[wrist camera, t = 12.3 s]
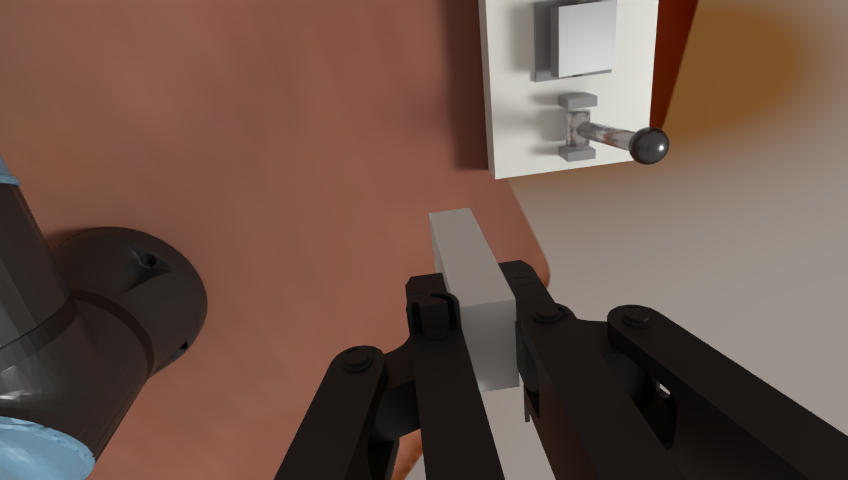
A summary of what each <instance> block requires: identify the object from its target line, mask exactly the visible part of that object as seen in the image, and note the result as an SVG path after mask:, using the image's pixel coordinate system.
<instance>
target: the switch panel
mask: <svg viewBox="0 0 848 480" xmlns="http://www.w3.org/2000/svg"><path fill="white" fill-rule="evenodd" d="M573 1H574V0H478V5H479V21H480V38H481V54H482V71H483V87H484V103H485V120H486V136H487V153H488V169H489V171H490V173H491V174H492V175H493V177H494V178H495V179H500V178H507V177H514V176H522V175H529V174H536V173H543V172H551V171H558V170H565V169H573V168H580V167H587V166H595V165H602V164H610V163H617V162H624V161H631V160H634V159H633V158H632V157H631V155H630V153H629V151H627V150H623V149H620V148H616V147H613V146H609V145H606V144H602V143H598V142H595V141H591V140H590V145H588V146H584V147H569V146H566V111H568V110H572V109H590V110H591V122H594V123H598V124H602V125H607V126H611V127H615V128H620V129H624V130H628V131H633V132H637V131H638V130H640V129H642V128H645V127H649V118H650V105H651V91H652V78H653V65H654V51H655V38H656V25H657V12H658V0H617V16H616V39H615V62H614V69H608V70H602V71H596V72H590V73H585V76H580V77H572V75H571V76H565V77H551V25H550V8H553V7H561V6H569V5H573ZM601 1H609V0H586V3H593V2H601Z"/></svg>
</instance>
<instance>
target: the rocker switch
mask: <svg viewBox="0 0 848 480" xmlns="http://www.w3.org/2000/svg"><path fill="white" fill-rule="evenodd" d="M616 16H617V0H609V1H601V2H593V3H586V0H574V1H573V5H569V6H561V7H553V8H550V25H551V77H565V76H571V75H572V77H580V76H585V73H590V72H596V71H602V70H608V69H614V62H615V39H616Z"/></svg>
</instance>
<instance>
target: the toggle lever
mask: <svg viewBox="0 0 848 480" xmlns="http://www.w3.org/2000/svg"><path fill="white" fill-rule="evenodd" d="M590 140H591V141H595V142H598V143H602V144H606V145H609V146H613V147H616V148H620V149H623V150H627V151H629V153H630V155H631V157H632V158H633V159H634V160H635V161H636V162H638V163H640V164H645V165H650V164H654V163H657V162H659V161H660V160H662V159H663V158H664V157H665V156H666V154H667V152H668V150H669V139H668V137H667V135H666V134H665V132H664V131H662V130H661V129H659V128H656V127H645V128H642V129H640V130H638V131H637V132H633V131H628V130H624V129H620V128H615V127H611V126H607V125H602V124H598V123H594V122H591V110H590V109H572V110H568V111H566V146H569V147H584V146H588V145H590Z"/></svg>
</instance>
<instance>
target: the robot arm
mask: <svg viewBox="0 0 848 480" xmlns="http://www.w3.org/2000/svg"><path fill="white" fill-rule="evenodd" d="M20 185H21V183H20V181H19V179H17V178H16V177H14V176H12V174H11V173H10V171H9V169H8V167H7V166H6V164H5V162H4V160H3V159H2V157H1V155H0V480H84V479H85V478H86V477H87V476H88V475H89V474H90V473H91V471H92V469H93V467H94V465H95V463H96V462H97V460H98V458H99V457H100V455H101V454H102V452H103V450H104V449H105V447H106V445H107V444H108V442H109V441H110V439H111V437H112V436H113V434H114V433H115V431H116V429H117V428H118V426H119V424H120V423H121V421H122V420H123V418H124V416H125V415H126V413H127V411H128V410H129V408H130V407H131V405H132V403H133V402H134V400H135V399H136V397H137V395H138V394H139V392H140V390H141V389H142V387H143V386H144V384H145V383H146V381H147V380H148V379H149V378H150V377H152V376H153V375H155V374H156V373H158V372H159V371H160V370H162V369H163V368H165V367H166V366H168V365H169V364H171V363H172V362H174V361H175V360H177V359H178V358H179V357H180V356H182V355H183V354H184V353H185V352H186V351H187V350H188V349H189V347H190V346H191V345H192V344H193V342H194V340H195V339H196V337H197V335H198V334H199V332H200V330H201V329H202V326H203V324H204V322H205V318H206V314H207V296H206V292H205V288H204V285H203V283H202V281H201V278H200V277H199V275H198V273H197V272H196V270H195V269H194V267H193V266H192V265H191V263H190V262H189V261H188V260H187V259H186V258H185V257H184V256H183V255H182V254H181V253H180V252H178V251H177V250H176V249H175V248H173V247H172V246H170V245H169V244H167V243H165V242H164V241H162V240H160V239H158V238H156V237H154V236H151V235H149V234H146V233H143V232H140V231H136V230H131V229H126V228H113V227H110V228H98V229H92V230H88V231H85V232H82V233H79V234H77V235H75V236H73V237H71V238H69V239H68V240H66V241H65V242H63V243H62V244H61V245H59V246H58V247H56V248H55V249H54V250H52V251H50V249H49V247H48V245H47V243H46V241H45V239H44V237H43V235H42V233H41V230H40V228H39V226H38V224H37V222H36V220H35V218H34V216H33V214H32V212H31V210H30V208H29V206H28V204H27V202H26V200H25V198H24V196H23V194H22V192H21V190H20V188H19V186H20ZM429 218H430V227H431V235H432V244H433V252H434V261H435V269H436V273H435V274H428V275H421V276H414V277H411V278H410V279H409V281H408V282H407V284H406V286H405V287H406V296H407V306H406V312H407V319H408V326H409V332H410V336H409V338H408V340H407V341H406V342H405V343H404V344H403V345H402V346H400V347H399V348H398V349H395V350H393V351H391V352H389V353H386V354H383V353H382V351H381V350H380V349H378V348H376V347H373V346H365V345H364V346H356V347H352V348H349V349H347V350H344V351H343V352H341V353H340V354H338V355H337V356H336V357H335V358H334V359H333V361H332V362H331V364H330V366H329V368H328V370H327V372H326V374H325V376H324V378H323V380H322V382H321V384H320V386H319V388H318V390H317V392H316V394H315V396H314V398H313V400H312V403H311V405H310V407H309V409H308V411H307V413H306V415H305V417H304V419H303V421H302V423H301V425H300V427H299V429H298V431H297V433H296V435H295V437H294V439H293V441H292V443H291V445H290V447H289V449H288V451H287V453H286V455H285V458H284V460H283V462H282V464H281V466H280V468H279V470H278V472H277V474H276V476H275V478H274V480H391V478H392V474H393V470H394V466H395V461H396V457H397V453H398V449H399V437H402V436H404V435H406V434H409V433H411V432H413V431H415V430H418V429H421V438H422V447H423V456H424V465H425V473H426V480H505V478H504V474H503V471H502V468H501V464H500V460H499V457H498V453H497V450H496V447H495V443H494V440H493V436H492V432H491V429H490V426H489V422H488V419H487V415H486V412H485V408H484V404H483V401H482V397H481V394H480V392H485V391H492V390H499V389H505V388H512V387H518V386H519V373H520V375H521V378H522V380H523V383H524V407H525V422H529V421H530V419H529V418H530V417H529V415H531V417H532V420H533V423H534V425H535V427H536V430H537V433H538V435H539V438H540V440H541V443H542V446H543V448H544V450H545V453H546V456H547V458H548V461H549V463H550V466H551V469H552V471H553V474H554V476H555V479H556V480H848V436H847V435H845V434H844V433H842V432H840V431H839V430H837V429H836V428H834V427H833V426H831V425H830V424H828V423H827V422H825V421H824V420H822V419H821V418H819V417H818V416H816V415H815V414H813V413H812V412H810V411H808V410H807V409H806V408H804V407H802V406H801V405H799V404H798V403H796V402H795V401H793V400H792V399H790V398H789V397H787V396H786V395H784V394H782V393H781V392H780V391H778V390H777V389H775V388H773V387H772V386H770V385H769V384H767V383H766V382H764V381H763V380H761V379H760V378H758V377H757V376H755V375H754V374H752V373H751V372H749V371H748V370H746V369H744V368H743V367H741V366H740V365H738V364H737V363H735V362H734V361H732V360H731V359H729V358H728V357H726V356H725V355H723V354H722V353H720V352H719V351H717V350H716V349H714V348H712V347H711V346H709V345H708V344H706V343H705V342H703V341H702V340H700V339H699V338H697V337H696V336H694V335H693V334H691V333H690V332H688V331H687V330H685V329H684V328H682V327H681V326H679V325H678V324H676V323H674V322H673V321H671V320H669V319H668V318H667V317H665V316H664V315H662V314H660V313H659V312H657V311H655V310H653V309H651V308H648V307H644V306H640V305H624V306H618V307H616V308H614V309H612V310H611V311H610V312H609V314H608V316H607V322H603V321H587V320H580V319H577V318H576V317H575V315H574V313H573V312H572V311H571V310H570V309H569V308H568V307H566V306H563V305H561V304H558V303H555V302H554V300H553V299H552V297H551V296H550V294H549V292H548V291H547V289H546V288H545V286H544V285H543V283H542V282H541V280H540V278H539V277H538V276H537V274H536V272H535V271H534V269H533V268H532V266H530V265H528V264H527V263H525V262H523V261H521V260H517V261H510V262H503V263H497V261H496V259H495V257H494V255H493V254H492V252H491V250H490V248H489V246H488V244H487V242H486V240H485V238H484V236H483V234H482V232H481V230H480V228H479V226H478V224H477V222H476V220H475V218H474V216H473V214H472V212H471V210H470V208H464V209H456V210H449V211H442V212H435V213H429ZM660 384H662V385H663V386H664V387H665V388H666V389H667V390H669V392H670V395H669V394H667V393H666V392H665V391H663V390H662V389H661V388H660Z"/></svg>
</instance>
